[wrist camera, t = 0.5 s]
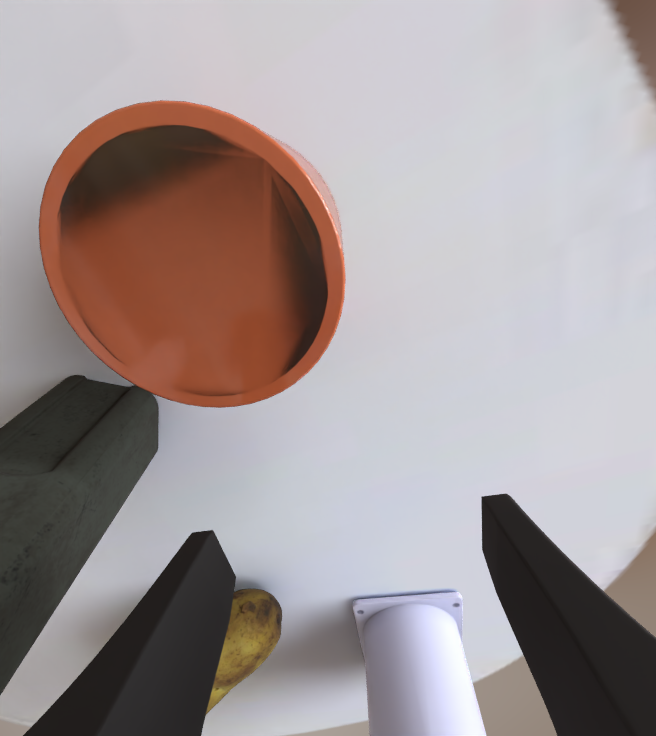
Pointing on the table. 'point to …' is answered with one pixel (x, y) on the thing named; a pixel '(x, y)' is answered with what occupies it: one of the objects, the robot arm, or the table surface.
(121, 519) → the table surface
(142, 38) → the table surface
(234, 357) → the flower pot
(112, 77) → the table surface
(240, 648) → the potato
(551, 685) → the robot arm
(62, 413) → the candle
